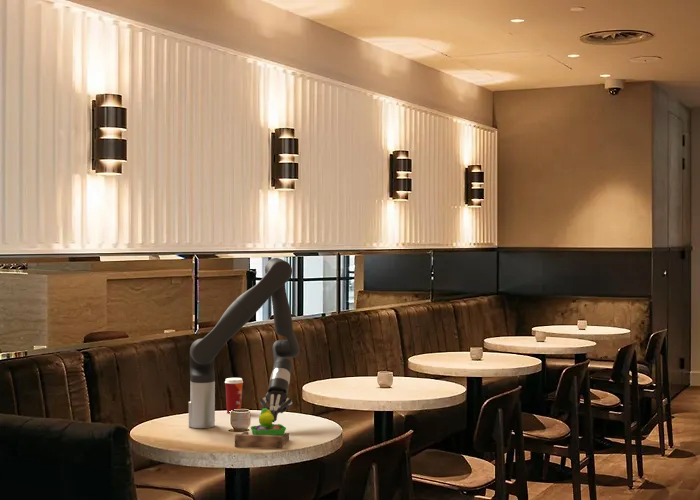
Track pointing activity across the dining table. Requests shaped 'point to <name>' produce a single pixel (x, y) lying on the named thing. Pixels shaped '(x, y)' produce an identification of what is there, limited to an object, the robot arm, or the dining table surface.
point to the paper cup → (233, 393)
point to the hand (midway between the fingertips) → (272, 421)
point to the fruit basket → (267, 425)
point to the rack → (261, 440)
